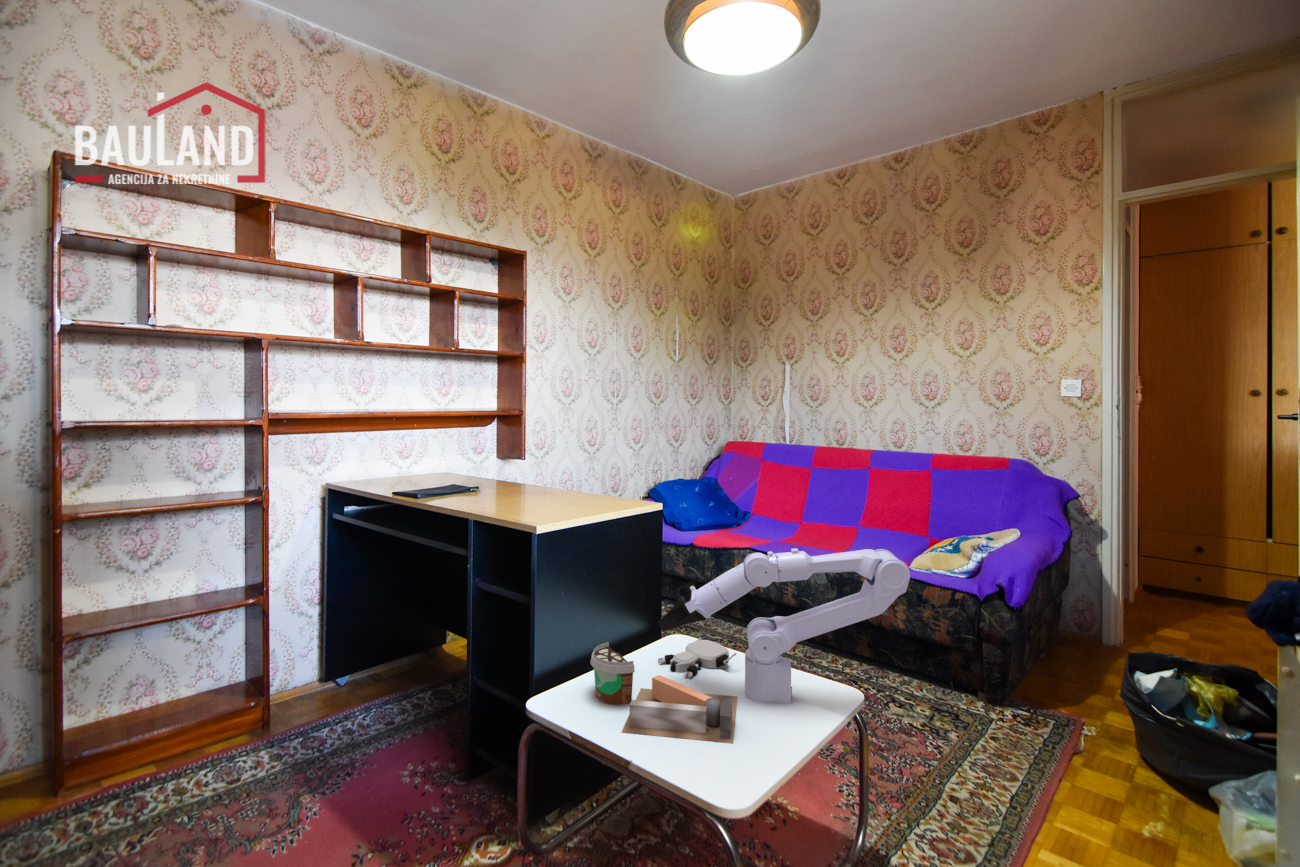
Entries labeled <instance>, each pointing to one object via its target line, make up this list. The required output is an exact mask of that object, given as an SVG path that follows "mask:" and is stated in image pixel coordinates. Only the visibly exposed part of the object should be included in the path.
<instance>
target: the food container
mask: <svg viewBox="0 0 1300 867" xmlns="http://www.w3.org/2000/svg"><path fill="white" fill-rule="evenodd" d="M589 662H590V665H591V666H592V668H593V672H594V684H595V686H594V688H595V696H596V699H597V700H599V701H600V702H601V703H604V704H607V705H614V706H622V705H625V706H626V705H630V703H631V700H633V695H632V694H633V682H634V681H633V680H634V679H633V678H634V673H636V671H635V670H636V669H635V664H634V660H631V661H628V660H626V658H624V656H623V655H622V654H621V653H619V652H618V651H617V652H616V651H614V649H612V648H611V647H610V643H609V642H604V643H601V644H598V645H597V646H596V647H595V648H594V649H593V651H592V653H591V657H590V661H589Z"/></svg>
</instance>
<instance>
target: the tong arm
mask: <svg viewBox="0 0 1300 867" xmlns="http://www.w3.org/2000/svg"><path fill="white" fill-rule="evenodd" d="M651 689H652V698H654V699H657V700H659V701H661V702H663V703H674V704H685V705H696V706H707V725H710V726H718V725H719V724H720V700H719V699H716V698H712V697H710V696H707V695H705V694H706V693H703V692H700V691H697V690H695V689H693V688H691V687H689V686H686V685H685V684H684V685H683V684H681V683H679V682H677V681H675V680H672V679H669V678H668V677H666V676H663V675H660V674H658V675H655V676H653V677H652V678H651Z"/></svg>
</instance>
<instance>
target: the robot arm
mask: <svg viewBox="0 0 1300 867" xmlns="http://www.w3.org/2000/svg"><path fill="white" fill-rule="evenodd" d="M790 550H791V551H787V552H776V553H774V552H773V551H767V554H764V553H762V552H753V553H748V554H747V555H746V557H745V558H744V560H743V562H741V563H740V564H738V565H736V566H735V567H733V568H730V569H729V570H726V571H725V572H724V573H722V574H720V575H719V576H717V577H715V578H714V579H712V580H711V581H709V582H708V583H706V584H704V585H703V586H701V587H699V588H698V589H696V587H695V586H694V585H691V586H689V590H690V591H691V595H690V596H689V597H688V599H687V600H686V598H685V596H683V595H681V596H680V597H678V598H677V601H676V603H675V604H674V606H672V608H671V609H669V610H668V612H667V613H665V614H664V615H663V616H662V617H661V618H659V620H658V621H657V625H658V626H659V627H660V629H661V631H662V632H667V631H669V630H674V629H677V628H680V627H683V626H685V625H688V624H695V623H697V622H700V621H702V622H703V621H706V620H707V619H709V618H710V617H711V616H712V615H713V614H715V613H716V612H718V611H720V610H722V609H723V608H725V607H726V606H728V605H730V604H731V603H733V602H734V601H735V602H736V601H737V600H738V599H740V598H741V597H743V596H745V595H747V594H748V593H749V592H751V591H752V590H754V589H755V588H757V587H758V588H759V587H761V588H767V587H769V586H770V585H771V584H772V583H773V582H775V583H782V582H784V583H785V582H796V581H804V580H805V581H807V580H809V579H810V578H811V576H812V575H814V574H819V573H821V574H822V573H823V574H824V573H825V574H826V573H846V572H847V573H848V572H849V573H852V572H853V573H857V574H858V575H860V576H862V577H864V580H863V583H862V586H861V589H860V591H859V592H856V593H854V594H849V595H848V596H844V597H841V598H838V599H835V600H833V601H830V602H827V603H823V604H821V605H818V606H814V607H812V608H811V607H810V608H809V609H805V610H803V611H799V612H797V613H794V614H791V615H788V616H782V615H781V616H780V615H778V616H777V615H775V616H773V617H761V616H760V617H756V618H754V619H752V620H751V621H750V622H749V623H748V624H747V627H746V637H747V639H748V648H747V649H746V651H745V654H744V694H745V697H746V698H747V699H749V700H750V701H753V702H757V703H763V704H764V703H765V704H767V703H778V704H780V703H781V704H792V697H793V686H792V661H791V658H789V657H784V656H782V654H784V653H788V652H790V651H791V650H792V648H794V646H795V645H796V643H799V642H802V641H805V640H808V639H811V638H815V637H817V636H820V635H824V634H826V633H829V632H832V631H835V630H838V629H841V628H844V627H847V626H851V625H854V624H856V623H859V622H862V621H865V620H868V619H871V618H874V617H877V616H880V615H882V614H883V613H885V611H887V609H888V608H889V607H890V606H891V605H892V604H893V603H894V601H895V600H896V599H897V598H898V597H899V596H901V595H904V594H905V593H906V592H907V590H908V587H909V582H910V580H911V571H910V569H909V567H908V565H907V564H906V563H905V562H904V561H902V560H900V559H899V558H898V557H896V556H895V555H894V553H893V552H892V551H890V550H888V549H885V548H879V549H871V548H870V549H869V548H865V549H864V548H863V549H860V550H859V549H858V550H851V551H845V552H837V553H826V554H822V555H821V554H820V555H813V556H812V555H809V554H808V552H806V551H804V550H799V549H798V548H797V547H796V548H791V549H790Z"/></svg>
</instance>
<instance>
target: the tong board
mask: <svg viewBox="0 0 1300 867" xmlns="http://www.w3.org/2000/svg"><path fill="white" fill-rule="evenodd" d="M704 694H705V695H707V696H710V697H712V698H716V699H719V700H720V724H719V725H718V726H710V725H707V706H696V705H685V704H674V703H663V702H661V701H659V700H657V699H654V698H652V688H640V689H639V692H638V694H637V696H636V699H632V700H631V703H630V704H628V705H629V708H628V709H629V710H628V711H629V715H628V717H627V719H626V721H625V722H624V725H623V727H622V730H621V732H620V733H622V734H630V735H640V736H641V735H642V736H649V737H651V736H652V737H660V738H661V737H662V738H670V739H681V740H690V741H691V740H692V741H700V742H701V741H703V742H713V743H719V744H720V743H721V744H731V745H733V744H734V738H735V729H736V728H735V727H736V719H737V718H736V716H737V710H738V709H737V708H738V707H737V705H738V698H739V697H738V696H737V695H736V696H734V695H723V694H715V693H714V694H713V693H712V694H710V693H704Z"/></svg>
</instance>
